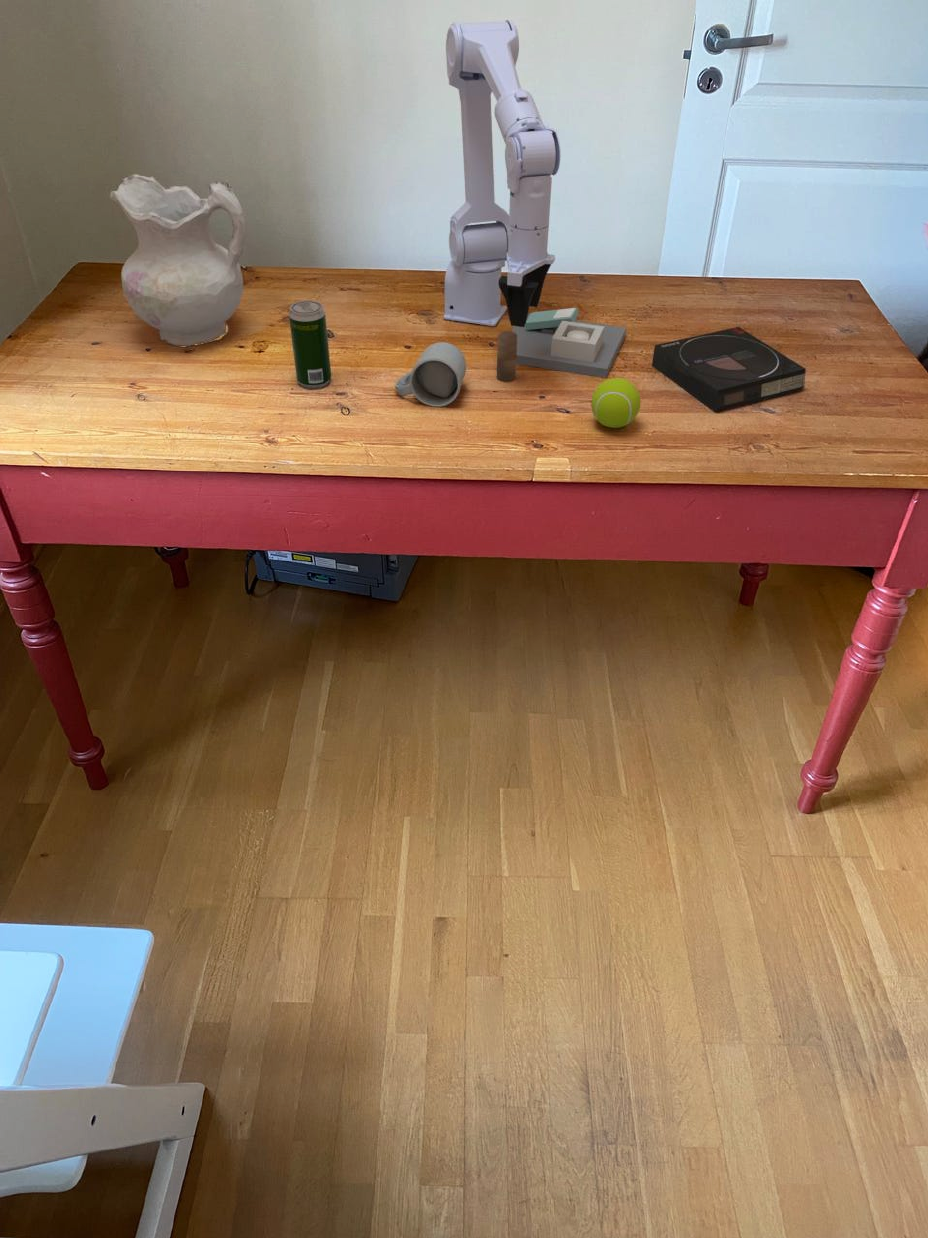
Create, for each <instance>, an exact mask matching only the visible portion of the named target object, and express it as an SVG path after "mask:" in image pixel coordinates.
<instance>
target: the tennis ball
mask: <svg viewBox="0 0 928 1238" xmlns="http://www.w3.org/2000/svg"><path fill="white" fill-rule="evenodd" d="M590 403H591V404H590V405H591V410H592V414H593V417H594V418H595V419H596V420H597V422H598V423H600V425H603V426H605V427H607V428H612V429H618V428H619V429H620V428H624V427H626V426H627V425H630V424H631V423H633V421H634V420H635V419H636V418H637V416H638V414H639V412H640V410H641V403H642V401H641V395H640V393H639V391H638V389H637V386H635V385H634V384H633V382H631V381H629V380H628V379H626V378H621V377H613V378H609V379H606V380H604V381H603V382H601V383H600V384H599V385H598V386H597V387H596V389H594V392H593V394H592V396H591V402H590Z"/></svg>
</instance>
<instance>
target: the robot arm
mask: <svg viewBox="0 0 928 1238" xmlns="http://www.w3.org/2000/svg"><path fill="white" fill-rule="evenodd" d="M445 39H446V40H445V52H446V53H445V54H446V55H445V59H446V72H447V74H446V75H447V78H448V85H450V86H451V87H453V88H456V89H457V90H458V94H459V102H460V114H461V115H460V116H461V117H460V118H461V134H462V135H461V136H462V154H463V155H462V156H463V171H464V172H463V174H464V175H463V177H464V195H465V196H464V197H465V202H464V204H462V205H461V207H460V208H459V209H458V210H456V211H455V213H453V214H452V216H450V220H449V225H450V226H449V234H448V236H449V237H448V245H449V246H448V247H449V248H448V249H449V254H450V258H451V260H450V262H449V263H448V265H447V267H446V271H445V276H444V315H443V319H444V320H447V321H455V322H463V323H470V324H474V325H475V324H477V325H484V326H490V327H495V326H496V325H497V323H499V321H500V320H501V318H502V317H503V316H504V314H505V313H506V312H507V313H508V320H509V323H510V326H512V327H515V326H518V327H524V326H525V324H526V321H527V317H528V314H529V311H530V307H534V308H537V307H538V306H539V302H540V299H541V295H542V290H543V287H544V284H545V280H546V278H547V274H548V272H549V270H550V268H551V266H552V265H553V264H554V262H555V260H556V256H555V255H554V254H549V253H548V245H549V244H548V243H549V229H550V227H549V226H550V212H551V195H552V182H553V181H552V180H553V178H552V176H556V175H557V174H558V171H559V169H560V165H561V144H560V139H559V136H558V133H557V130H556V129H555V128H553V127H550V125H549V124H546V125H545V124H544V123H543V119H542V118H541V115H540V112H539V110H538V107H537V105H536V102H535V100H534V98H533V95H532V94H531V93H530V92H529V91H528V90H526V89H523V88H522V87H521V84H520V83H521V82H520V79H519V76H518V71H517V68H516V66H517V61H518V60H519V59H518V58H519V51H520V39H519V32H518V29H517V26H516V24H514V22H513V20H512V19H506V20H505V21H488V22H487V21H486V22H484V21H483V22H468V23H467V22H464V23H463V22H462V23H458V22H452V23H451V24H450V26H449V27H448V30H447V33H446V38H445ZM492 94H493V96H494V98H495V100H496V104H495V106H494V118H495V120H496V123H497V126H498V129H499V130H500V133H501V136H502V138H503V142H504V143H505V149H504V161H505V168H506V184H507V189H508V190H509V208H508V209H509V213H508V212H507V210H505V209H504V208H502V207H501V206H500V205H498V204H497V203H496V202H495V201H496V199H495V175H494V171H495V170H494V153H493V149H494V148H493V125H492V124H493V122H492V121H493V120H492V118H493V117H492ZM506 264H507V269H508V270H507V275H502V268H505V267H506ZM501 293H502V294H501ZM501 295H502V296H503V297H504V301H505V304H506V305H501V297H502V296H501Z"/></svg>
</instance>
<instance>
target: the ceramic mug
mask: <svg viewBox="0 0 928 1238" xmlns="http://www.w3.org/2000/svg"><path fill="white" fill-rule="evenodd" d="M466 372H467V362H466V357H465V356H464V353H463V352H462V351H461V349H460V348H459V347H457V346H456V345H455V344H452V343H450V342H446V341H439V342H435V343H432V344H431V345H429V346H428V347H427V348H425V350H424V351H423V352H422V353H421V354H420V357H419V359H418V360H417V361H416V363H415V365H414V367H413V368H412V370H411V371H409V372H408V373H405V374H404V375H402V376H401V377H400V378H399V379H398V380H397V381H396V383H395V384H394V387H395V390H396V391H397V393H398V395H400V396H402V397H405V396H409V395H414V397H415V398H416V399H417V400H418V401H419V402H421V403H422V404H424V405H427V406H429V407H434V408H440V407H446V406H447V405H450V404H451V403H453V401H455V400H456V399H457V397H458V395H459V394H460V390H461V387H462V386H463V385H462V384H463V381H464V378H465V376H466Z"/></svg>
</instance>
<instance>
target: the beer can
mask: <svg viewBox="0 0 928 1238" xmlns="http://www.w3.org/2000/svg"><path fill="white" fill-rule="evenodd" d="M326 317H327V316H326V311H325V310H324V305H323V304H322V303H321V302H319V301H316V300H302V301H297V302H294V303H292V304H291V305H290V306H289V313H288V319H289V329H290V336H291V343H292V353H293V360H294V368H295V376H296V381H297V383H299V385H300V387H302V386H303V387H302V388H304V387H305V389H308V388H309V390H312V389H314V390H316V389H321V388H324V387H326V386H328V385H329V383H330V382H331V379H332V370H331V359H330V347H329V338H328V337H329V336H328V328H327V327H328V326H327V319H326Z"/></svg>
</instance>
